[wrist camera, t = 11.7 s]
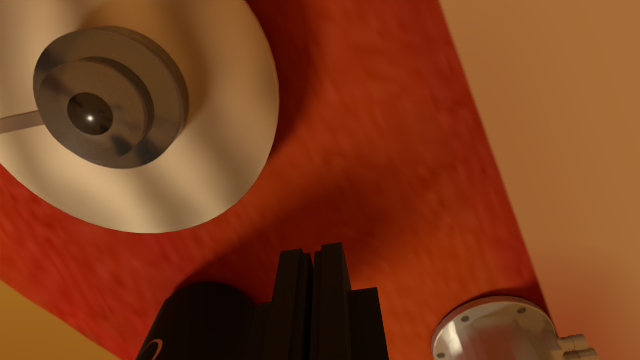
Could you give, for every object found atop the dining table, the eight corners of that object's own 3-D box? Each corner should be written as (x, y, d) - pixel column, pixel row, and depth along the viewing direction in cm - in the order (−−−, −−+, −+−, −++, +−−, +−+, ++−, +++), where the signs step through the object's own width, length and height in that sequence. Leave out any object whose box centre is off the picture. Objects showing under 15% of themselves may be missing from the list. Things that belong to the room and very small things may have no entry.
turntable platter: (227, -123, 24) (220, -132, 22) (308, 194, 34) (307, 207, 32) (-98, -37, 26) (-130, -39, 24) (65, 239, 36) (51, 254, 34)
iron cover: (166, 15, 26) (136, 22, 22) (204, 146, 30) (185, 173, 25) (33, 36, 26) (-21, 47, 22) (87, 162, 30) (50, 190, 26)
